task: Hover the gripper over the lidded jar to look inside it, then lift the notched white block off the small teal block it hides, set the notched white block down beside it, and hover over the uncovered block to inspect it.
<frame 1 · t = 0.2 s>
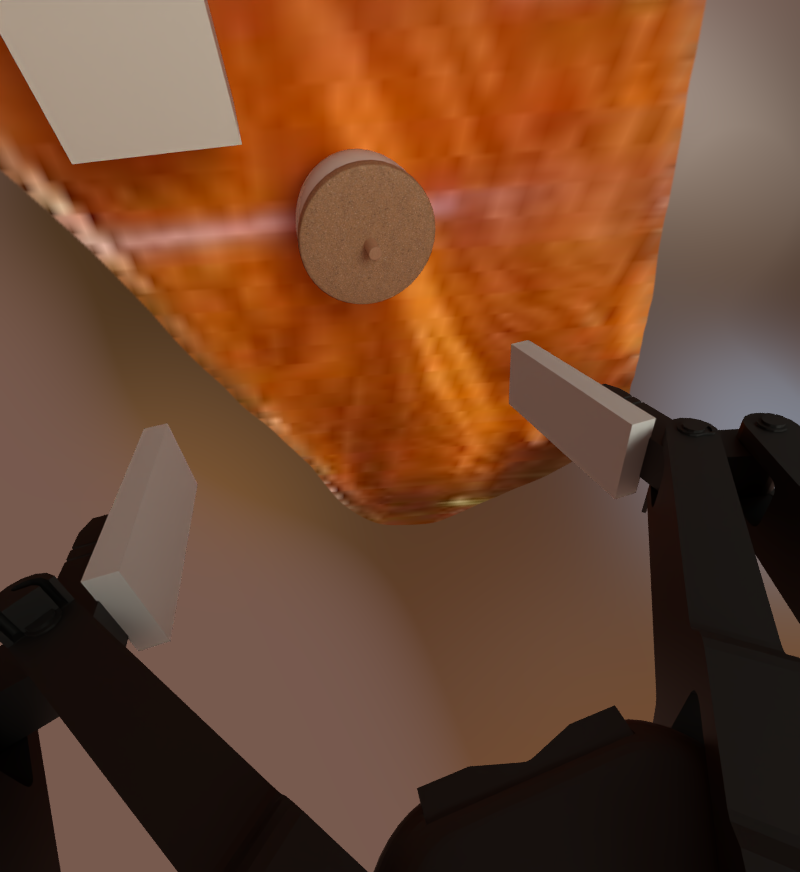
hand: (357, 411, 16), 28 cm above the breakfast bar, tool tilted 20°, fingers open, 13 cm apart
notched white block: (133, 16, 26), on the breakfast bar
lidded jar: (347, 200, 37), on the breakfast bar
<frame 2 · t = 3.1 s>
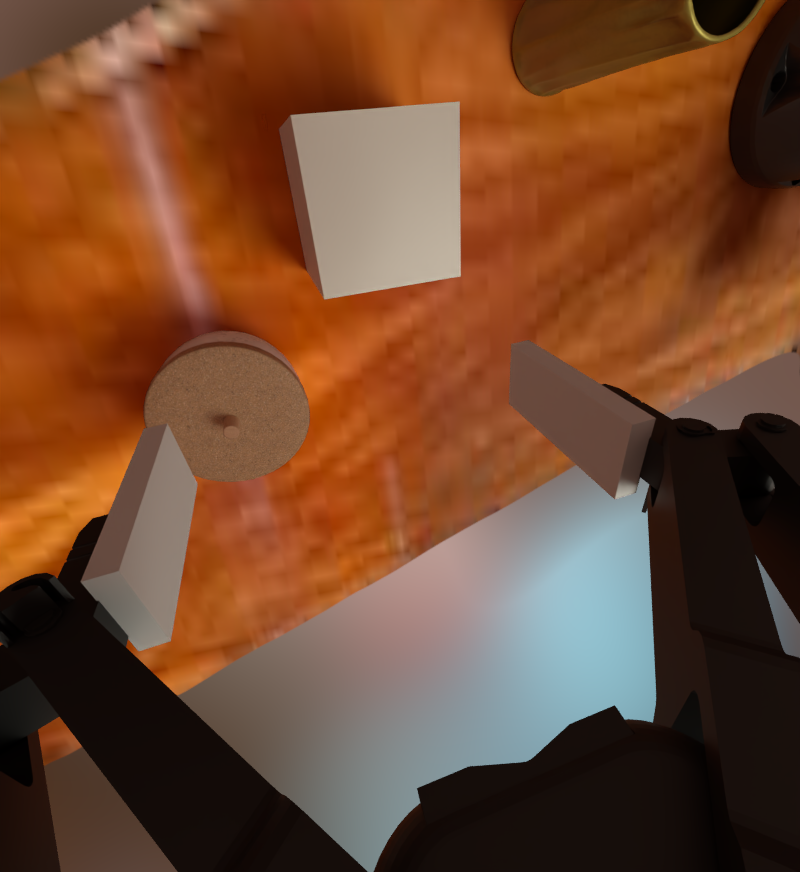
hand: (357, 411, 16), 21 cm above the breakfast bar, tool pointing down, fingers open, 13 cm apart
vase: (547, 43, 30), on the breakfast bar
notched white block: (354, 198, 31), on the breakfast bar
lidded jar: (234, 375, 36), on the breakfast bar
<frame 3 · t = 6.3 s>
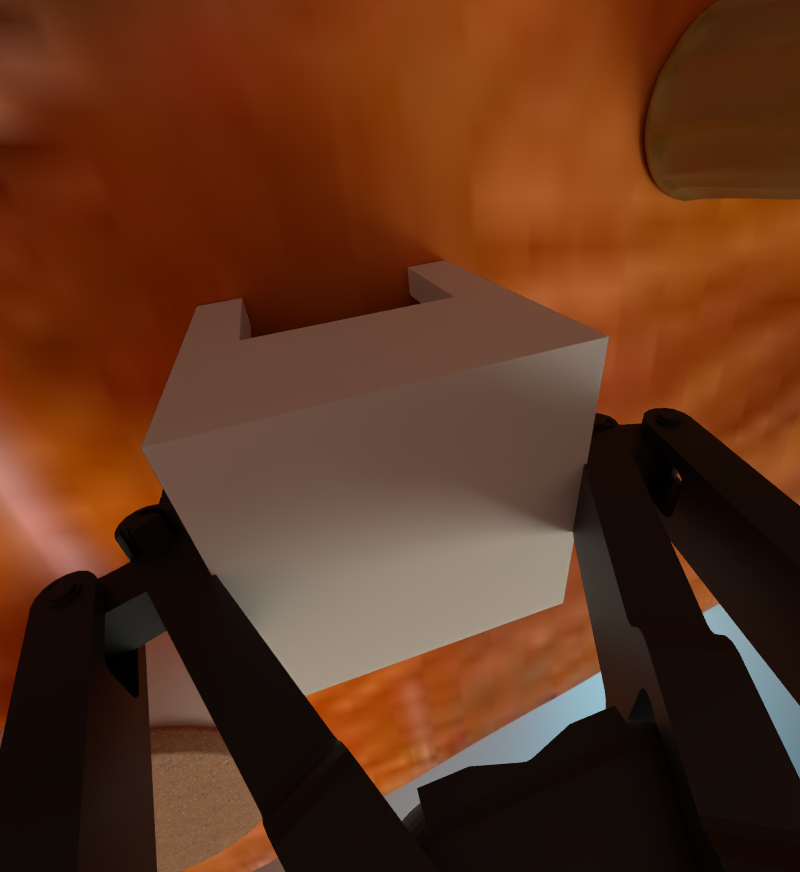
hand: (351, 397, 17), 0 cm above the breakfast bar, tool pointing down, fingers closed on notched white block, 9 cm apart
vase: (707, 108, 16), on the breakfast bar
notched white block: (349, 392, 18), on the breakfast bar, touching gripper
lidded jar: (163, 643, 22), on the breakfast bar
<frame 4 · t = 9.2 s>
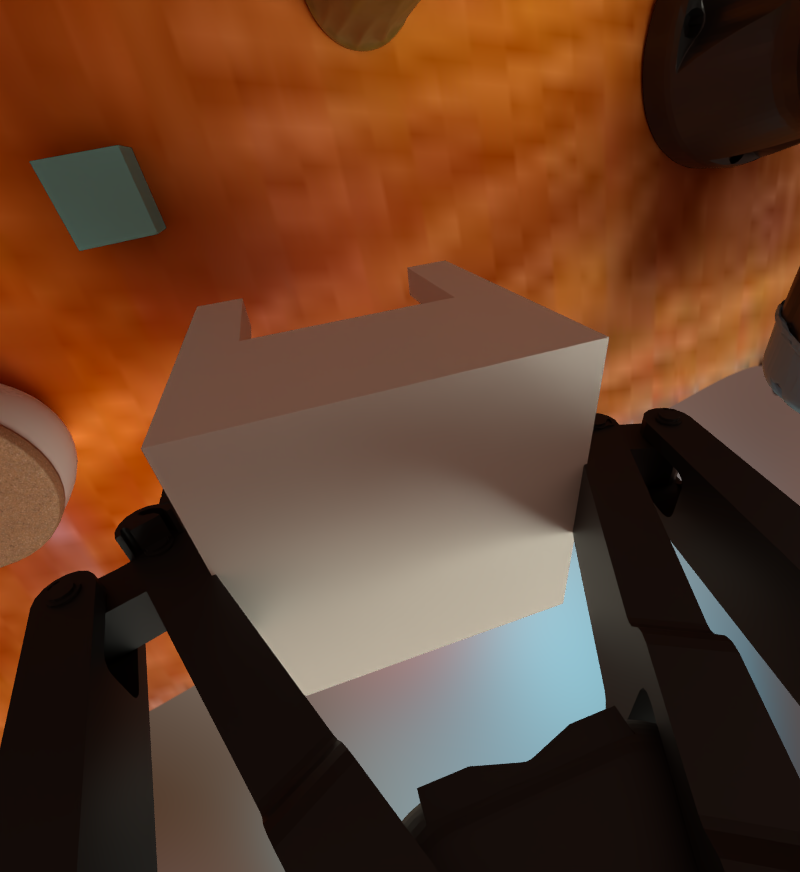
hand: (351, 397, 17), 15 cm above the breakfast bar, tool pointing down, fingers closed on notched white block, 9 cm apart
notched white block: (349, 393, 18), point 15 cm above the breakfast bar, touching gripper
lidded jar: (5, 426, 28), on the breakfast bar
teal block: (106, 198, 23), on the breakfast bar
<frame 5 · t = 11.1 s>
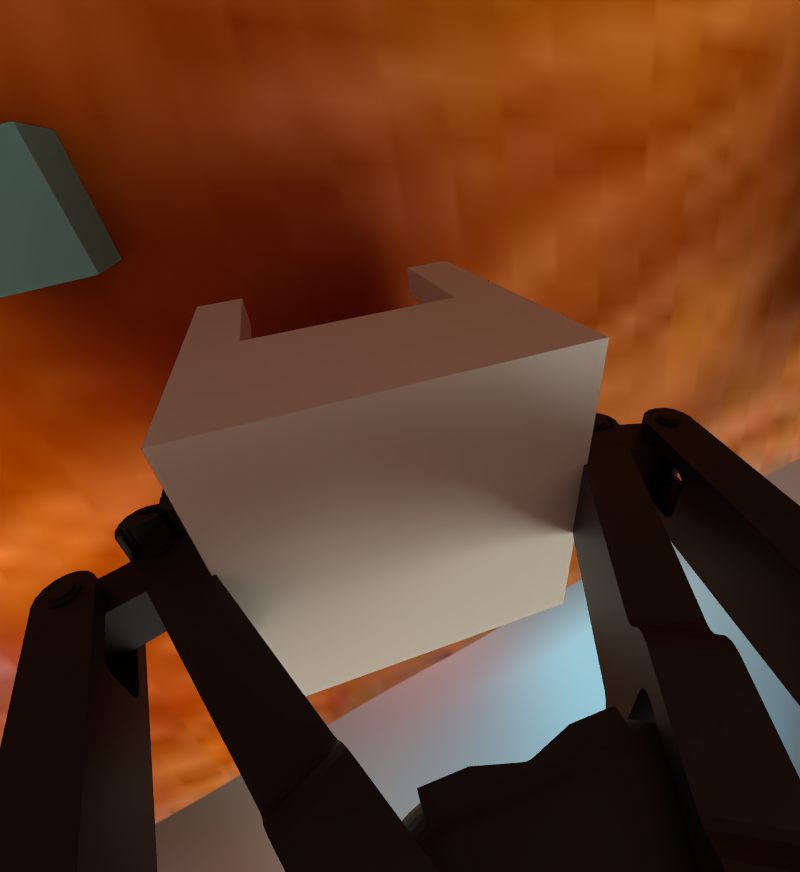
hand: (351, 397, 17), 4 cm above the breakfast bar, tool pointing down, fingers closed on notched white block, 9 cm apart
notched white block: (349, 393, 18), point 3 cm above the breakfast bar, touching gripper
teal block: (11, 215, 13), on the breakfast bar
when the fingers open (2 cm above the breakfast bar, at t = 12.4 s): notched white block drops 1 cm, on the breakfast bar.
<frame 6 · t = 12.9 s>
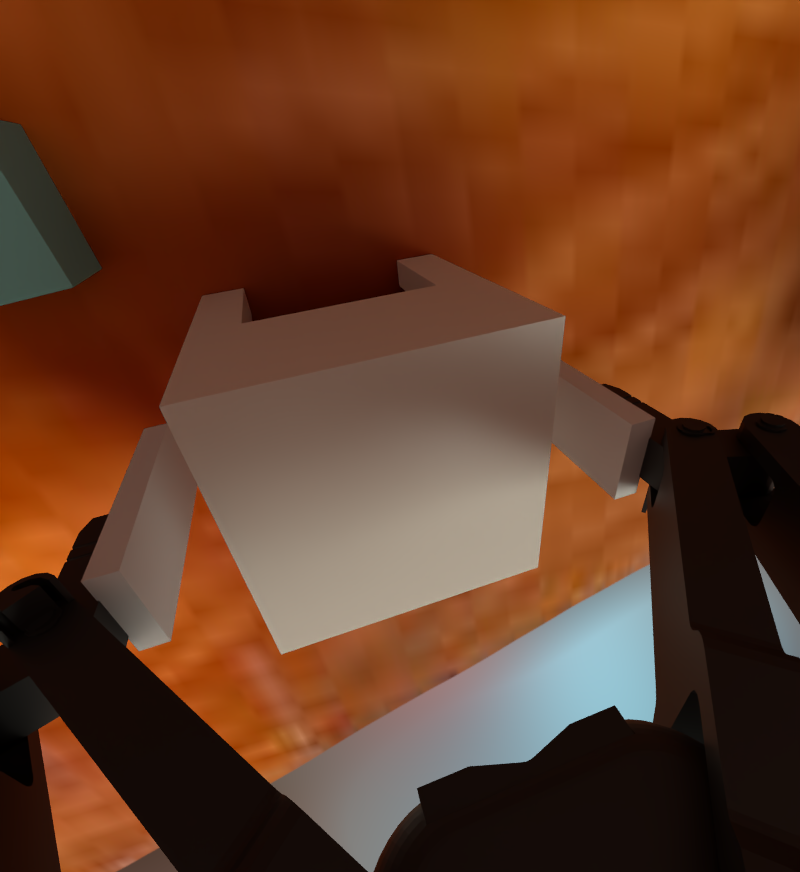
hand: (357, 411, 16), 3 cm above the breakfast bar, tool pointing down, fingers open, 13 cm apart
notched white block: (343, 378, 19), on the breakfast bar
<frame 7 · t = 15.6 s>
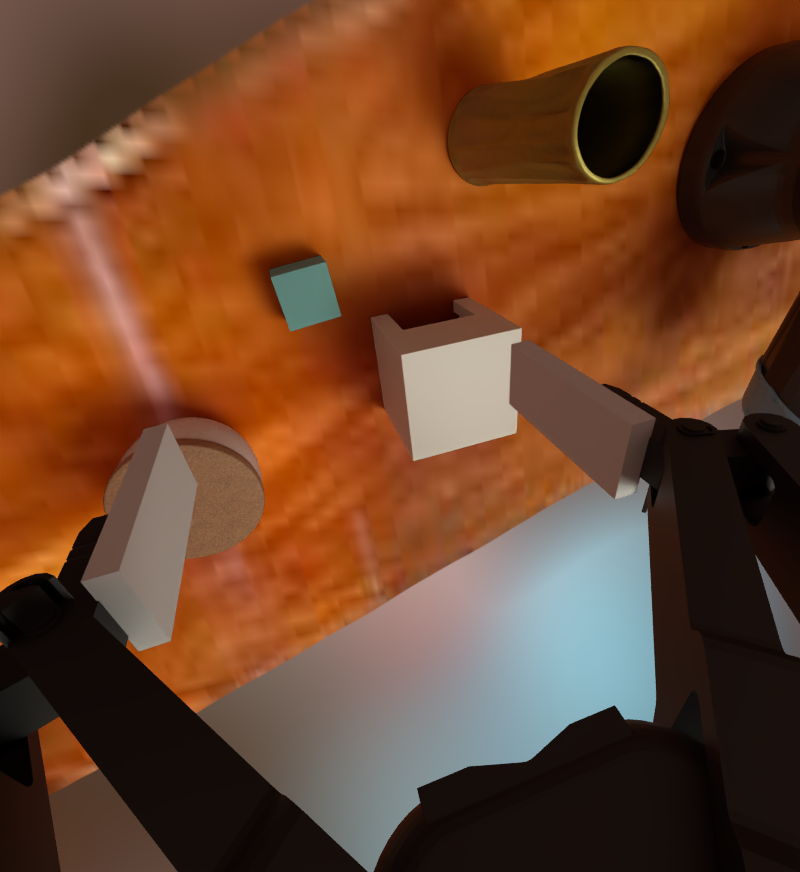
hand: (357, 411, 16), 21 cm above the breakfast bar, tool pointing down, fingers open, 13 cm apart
vase: (483, 138, 31), on the breakfast bar
notched white block: (424, 355, 39), on the breakfast bar
lidded jar: (199, 449, 38), on the breakfast bar
teal block: (305, 292, 32), on the breakfast bar
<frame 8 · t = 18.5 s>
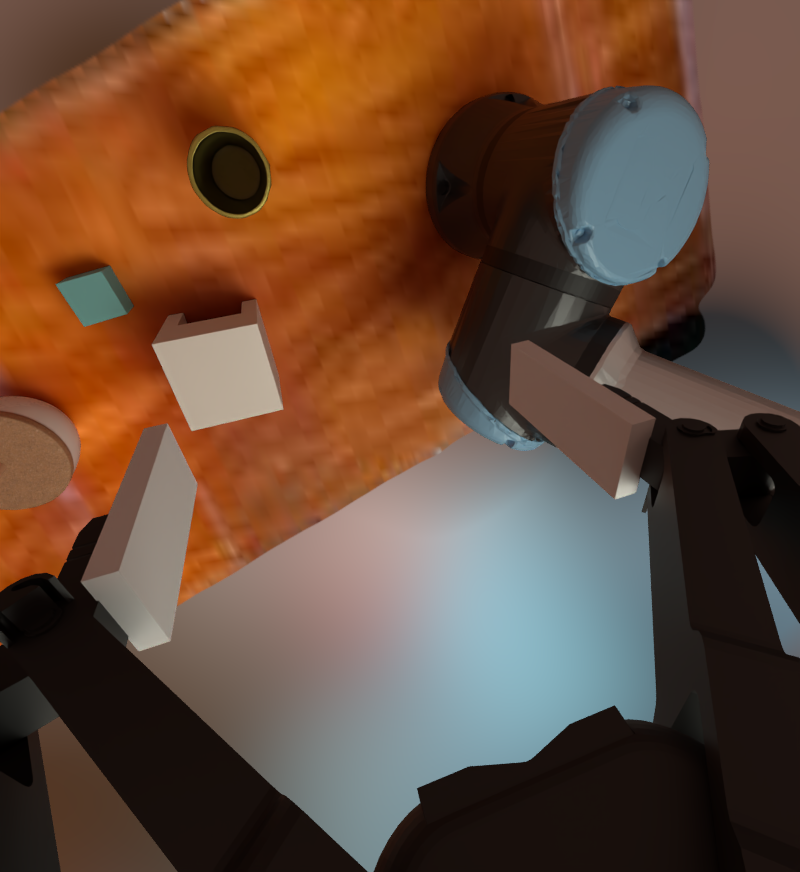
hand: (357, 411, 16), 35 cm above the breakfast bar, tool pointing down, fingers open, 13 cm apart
vase: (236, 173, 40), on the breakfast bar
notched white block: (227, 347, 47), on the breakfast bar
lidded jar: (35, 424, 46), on the breakfast bar
teal block: (97, 295, 40), on the breakfast bar
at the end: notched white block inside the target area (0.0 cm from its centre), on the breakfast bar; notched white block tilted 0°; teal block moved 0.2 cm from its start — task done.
